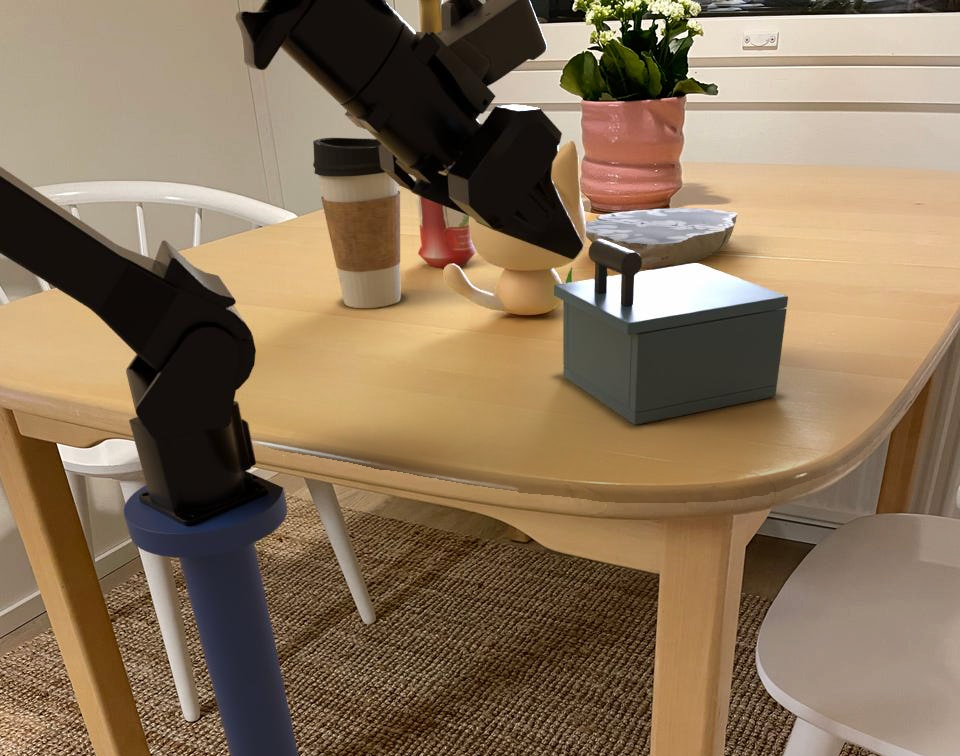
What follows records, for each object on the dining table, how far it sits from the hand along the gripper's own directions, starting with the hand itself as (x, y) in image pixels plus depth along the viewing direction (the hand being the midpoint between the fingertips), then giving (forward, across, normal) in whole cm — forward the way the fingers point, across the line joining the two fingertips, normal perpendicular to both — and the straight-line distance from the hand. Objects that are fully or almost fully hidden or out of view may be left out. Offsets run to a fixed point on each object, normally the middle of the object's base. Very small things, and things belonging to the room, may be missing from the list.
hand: (547, 239), depth 64 cm
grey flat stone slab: (+31, +40, -14) cm, 52 cm away
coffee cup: (+6, +37, +11) cm, 39 cm away
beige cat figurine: (+15, +24, +2) cm, 29 cm away
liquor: (+15, +48, +2) cm, 51 cm away
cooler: (+15, 0, +2) cm, 15 cm away
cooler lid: (+10, 0, -3) cm, 11 cm away
